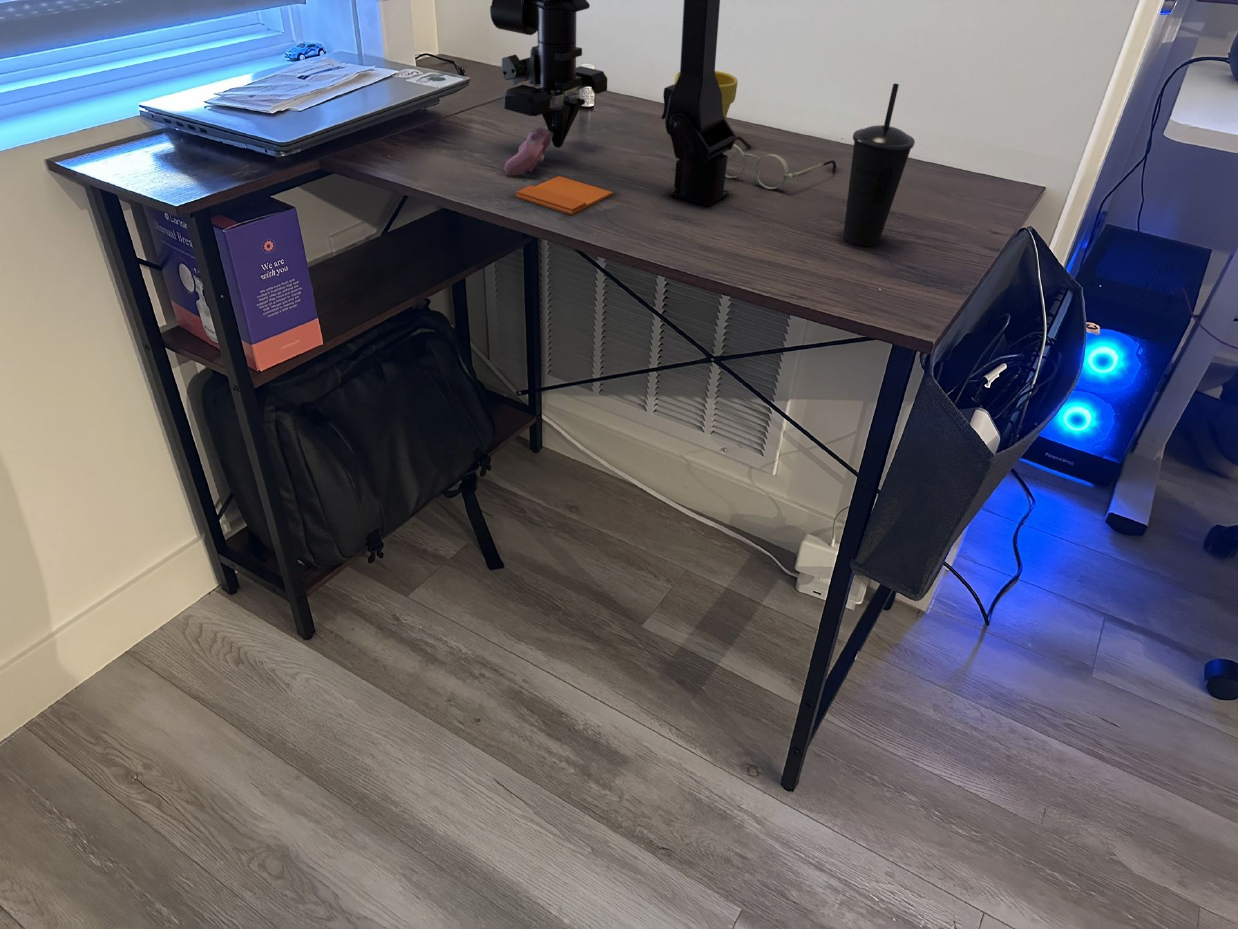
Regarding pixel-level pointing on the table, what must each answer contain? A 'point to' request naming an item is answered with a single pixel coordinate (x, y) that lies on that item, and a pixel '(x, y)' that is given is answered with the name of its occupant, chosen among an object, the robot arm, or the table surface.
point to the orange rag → (563, 195)
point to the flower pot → (724, 89)
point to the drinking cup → (874, 178)
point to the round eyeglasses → (781, 163)
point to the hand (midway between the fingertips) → (557, 146)
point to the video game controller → (529, 152)
